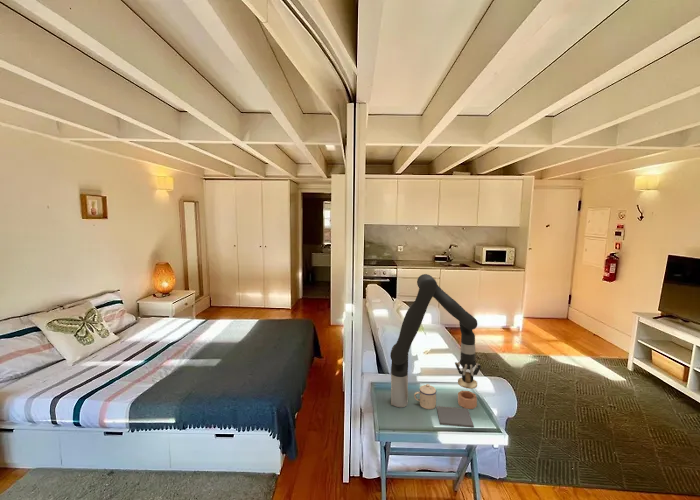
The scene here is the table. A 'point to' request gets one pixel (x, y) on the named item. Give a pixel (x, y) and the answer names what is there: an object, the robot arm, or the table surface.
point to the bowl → (467, 399)
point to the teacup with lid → (427, 396)
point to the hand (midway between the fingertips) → (467, 381)
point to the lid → (467, 381)
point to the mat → (454, 416)
